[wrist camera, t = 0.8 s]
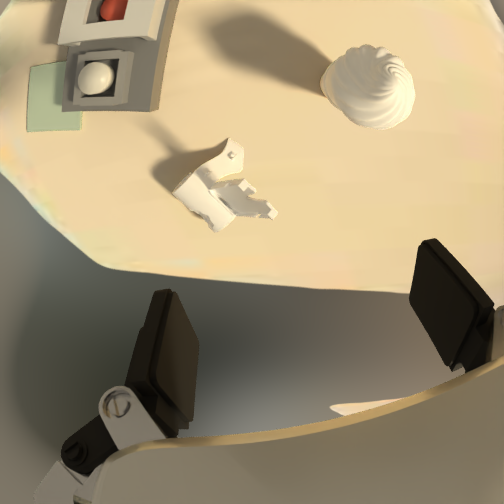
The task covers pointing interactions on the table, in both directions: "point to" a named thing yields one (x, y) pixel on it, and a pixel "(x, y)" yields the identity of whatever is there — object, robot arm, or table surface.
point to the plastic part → (221, 191)
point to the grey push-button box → (117, 53)
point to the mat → (49, 100)
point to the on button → (95, 78)
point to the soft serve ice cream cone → (370, 87)
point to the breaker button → (113, 9)
